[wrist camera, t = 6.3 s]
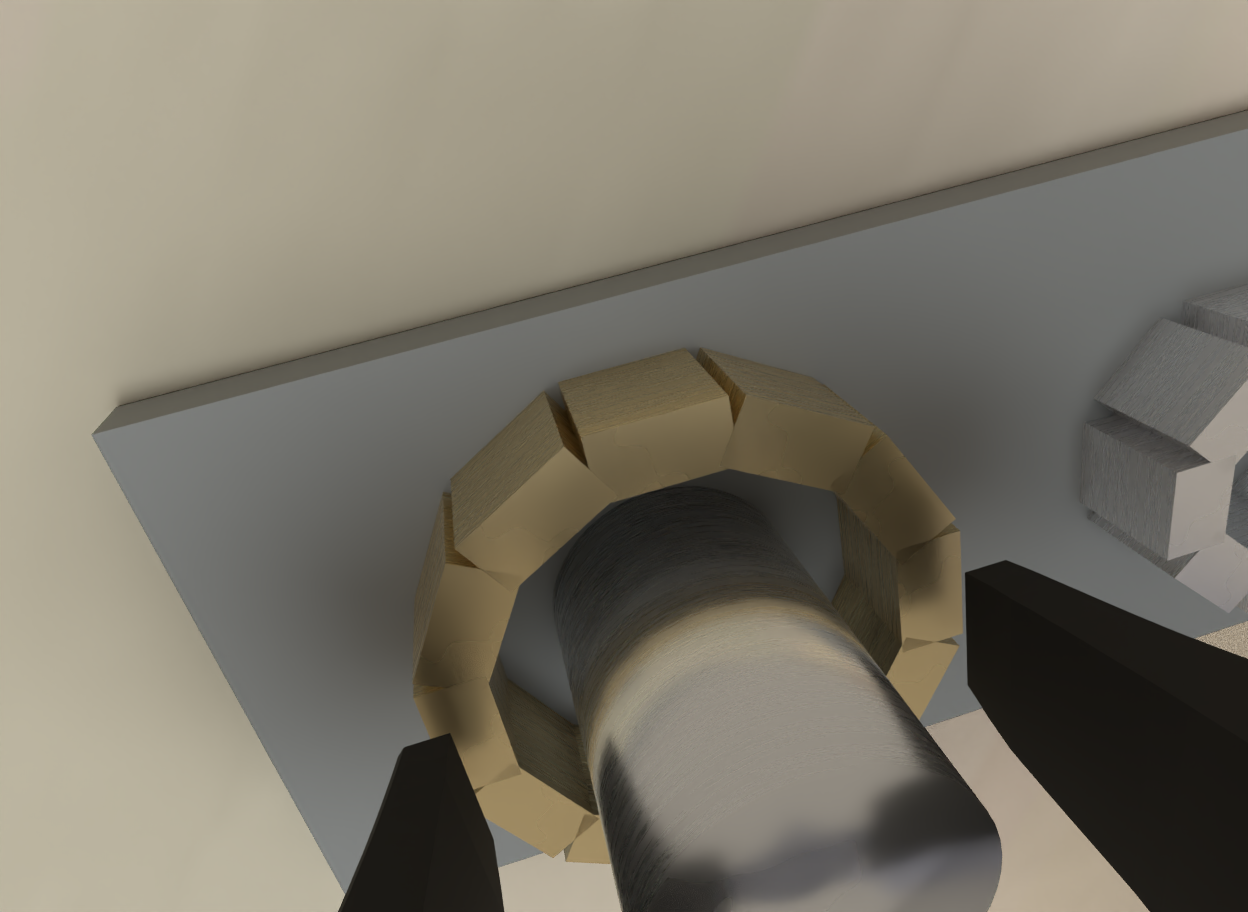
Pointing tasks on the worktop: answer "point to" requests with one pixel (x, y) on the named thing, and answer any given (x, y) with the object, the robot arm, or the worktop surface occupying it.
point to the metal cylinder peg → (751, 728)
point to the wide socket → (632, 465)
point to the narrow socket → (1179, 448)
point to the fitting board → (803, 515)
